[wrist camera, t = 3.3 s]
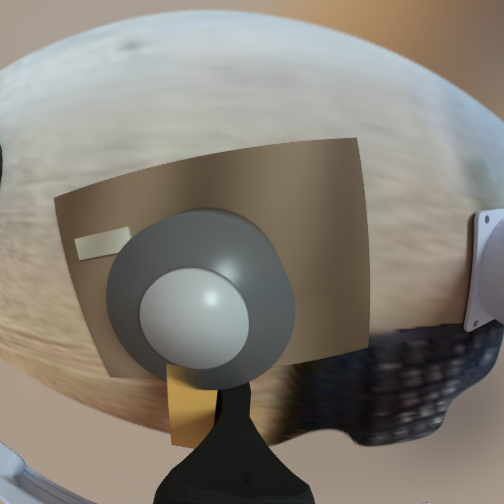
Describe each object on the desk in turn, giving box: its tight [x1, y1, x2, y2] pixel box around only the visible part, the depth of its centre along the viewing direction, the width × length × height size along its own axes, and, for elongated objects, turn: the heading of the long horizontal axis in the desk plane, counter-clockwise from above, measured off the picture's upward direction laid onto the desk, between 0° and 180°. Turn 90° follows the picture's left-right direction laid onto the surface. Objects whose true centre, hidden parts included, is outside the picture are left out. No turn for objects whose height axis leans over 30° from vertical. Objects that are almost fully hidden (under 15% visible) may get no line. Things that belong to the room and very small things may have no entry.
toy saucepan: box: [106, 207, 295, 449], centre depth 10 cm, size 10×6×4 cm, turn 172°
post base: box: [54, 138, 370, 378], centre depth 12 cm, size 14×10×1 cm
